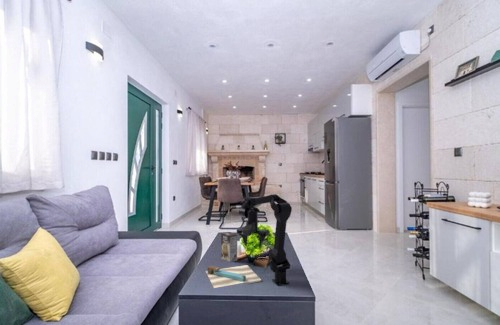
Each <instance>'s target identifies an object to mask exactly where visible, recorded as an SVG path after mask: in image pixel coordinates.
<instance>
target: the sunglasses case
mask: <svg viewBox="0 0 500 325" xmlns="http://www.w3.org/2000/svg"><path fill="white" fill-rule="evenodd" d="M257 257H258V256H257ZM257 257H256V258H257ZM268 257H269V256H266V257H258V258H257V259H254V260H253V261H252V262H253V263H252V265H253V266H254V267H256V268H257V267H259V268H267V267H268V265H270V263H269V258H268Z"/></svg>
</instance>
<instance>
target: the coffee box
mask: <svg viewBox="0 0 500 325" xmlns="http://www.w3.org/2000/svg"><path fill="white" fill-rule="evenodd" d="M220 237H221V238H220V242H221V244H220V245H221V247H220V248H221V251H220V252H221V255H220V256H221V260H224V261H227V262H236V261H238V233H233V232H230V231H227V232H221V236H220Z"/></svg>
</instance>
